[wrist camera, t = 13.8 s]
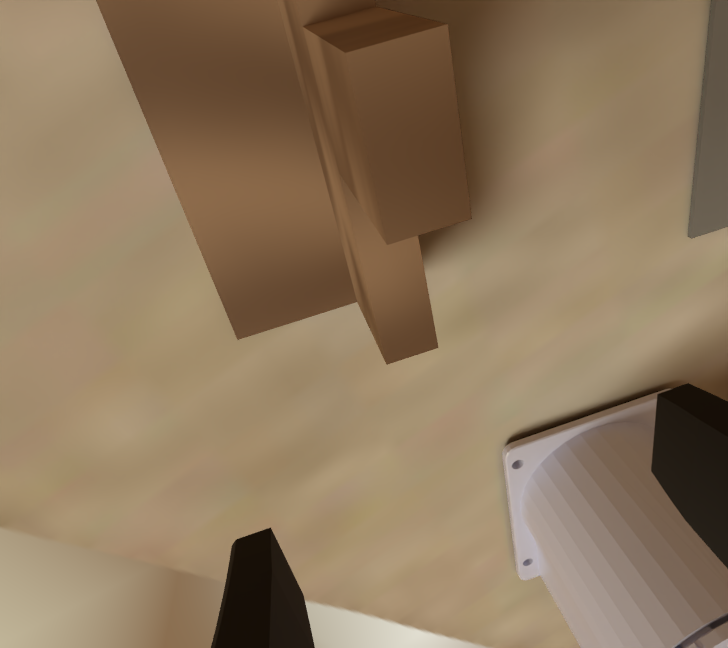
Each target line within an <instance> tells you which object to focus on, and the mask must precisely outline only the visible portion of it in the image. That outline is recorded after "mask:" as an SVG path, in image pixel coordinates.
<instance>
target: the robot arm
mask: <svg viewBox="0 0 728 648" xmlns="http://www.w3.org/2000/svg"><path fill="white" fill-rule="evenodd" d="M502 456H503V465H504V473H505V481H506V489H507V497H508V506H509V514H510V522H511V530H512V538H513V547H514V555H515V563H516V571H517V573H518V575H519V577H520V579H522V580H529V579H532V578H535V577H537V576H541V577H542V579H543V581H544V583H545V585H546V586H547V588H548V590H549V592H550V594H551V595H552V597H553V599H554V601H555V603H556V604H557V606H558V608H559V610H560V611H561V613H562V615H563V617H564V619H565V620H566V622H567V624H568V626H569V628H570V629H571V631H572V633H573V635H574V637H575V638H576V640H577V642H578V644H579V646H580V647H581V648H728V402H727V401H725V400H723V399H721V398H719V397H717V396H715V395H713V394H711V393H708V392H706V391H704V390H702V389H700V388H697V387H695V386H693V385H691V384H689V383H688V384H685V385H682V386H679V387H676V388H673V389H671V388H669V389H665V390H662V391H659V392H656V393H653V394H650V395H647V396H644V397H641V398H639V399H636V400H633V401H630V402H627V403H624V404H621V405H618V406H615V407H613V408H610V409H607V410H604V411H601V412H598V413H595V414H592V415H589V416H586V417H584V418H581V419H578V420H575V421H572V422H569V423H566V424H563V425H560V426H557V427H555V428H552V429H549V430H546V431H543V432H540V433H537V434H534V435H531V436H529V437H526V438H523V439H520V440H517V441H514V442H511V443H509V444H508V445H507V446H506V447H505V448H504V450H503V452H502ZM211 648H315V647H314V642H313V637H312V633H311V628H310V623H309V619H308V614H307V610H306V605H305V600H304V596H303V593H302V591H301V589H300V587H299V585H298V583H297V581H296V579H295V577H294V575H293V573H292V571H291V569H290V566H289V564H288V562H287V560H286V558H285V556H284V554H283V552H282V550H281V548H280V546H279V544H278V542H277V540H276V538H275V536H274V534H273V531H272V529H271V528H268V529H265V530H263V531H260V532H257V533H254V534H251V535H248V536H245V537H242V538H239V539H237V540H236V541H235V542H234V544H233V545H232V548H231V555H230V562H229V567H228V573H227V579H226V584H225V589H224V594H223V599H222V603H221V608H220V612H219V617H218V621H217V626H216V630H215V634H214V638H213V642H212V646H211Z"/></svg>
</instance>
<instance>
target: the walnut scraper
mask: <svg viewBox="0 0 728 648" xmlns="http://www.w3.org/2000/svg"><path fill="white" fill-rule="evenodd" d="M96 1H97V4H98V6H99V8H100V11H101V13H102V16H103V18H104V20H105V23H106V25H107V28H108V30H109V32H110V35H111V37H112V40H113V42H114V44H115V47H116V49H117V52H118V54H119V56H120V59H121V61H122V64H123V66H124V68H125V71H126V73H127V76H128V78H129V80H130V83H131V85H132V88H133V90H134V92H135V95H136V97H137V100H138V102H139V104H140V107H141V109H142V112H143V114H144V116H145V119H146V121H147V124H148V126H149V128H150V131H151V133H152V136H153V138H154V140H155V143H156V145H157V148H158V150H159V152H160V155H161V157H162V160H163V162H164V164H165V167H166V169H167V172H168V174H169V176H170V179H171V181H172V184H173V186H174V188H175V191H176V193H177V196H178V198H179V200H180V203H181V205H182V208H183V210H184V212H185V215H186V217H187V220H188V222H189V224H190V227H191V229H192V232H193V234H194V236H195V239H196V241H197V244H198V246H199V248H200V251H201V253H202V256H203V258H204V260H205V263H206V265H207V268H208V270H209V272H210V275H211V277H212V280H213V282H214V284H215V287H216V289H217V292H218V294H219V296H220V299H221V301H222V304H223V306H224V308H225V311H226V313H227V316H228V318H229V320H230V323H231V325H232V328H233V330H234V332H235V335H236V337H237V339H238V340H239V339H242V338H245V337H248V336H251V335H254V334H258V333H261V332H264V331H267V330H270V329H273V328H276V327H280V326H283V325H286V324H289V323H292V322H295V321H298V320H302V319H305V318H308V317H311V316H314V315H317V314H320V313H324V312H327V311H330V310H333V309H336V308H339V307H343V306H346V305H349V304H352V303H355V302H358V305H359V307H360V309H361V311H362V313H363V315H364V317H365V319H366V322H367V324H368V326H369V328H370V330H371V332H372V334H373V336H374V339H375V341H376V343H377V345H378V347H379V349H380V351H381V354H382V356H383V358H384V360H385V362H386V364H390V363H393V362H396V361H399V360H402V359H405V358H408V357H411V356H414V355H418V354H421V353H424V352H427V351H430V350H433V349H436V348H438V343H437V337H436V332H435V326H434V321H433V315H432V310H431V305H430V299H429V294H428V288H427V283H426V277H425V272H424V266H423V261H422V255H421V250H420V244H419V239H418V235H421V234H425V233H428V232H431V231H434V230H438V229H441V228H444V227H447V226H450V225H454V224H457V223H460V222H463V221H466V220H470V219H472V216H471V208H470V200H469V192H468V184H467V176H466V168H465V159H464V151H463V143H462V135H461V127H460V119H459V111H458V103H457V95H456V87H455V79H454V71H453V63H452V54H451V46H450V38H449V30H448V24H445V23H441V22H437V21H433V20H429V19H425V18H421V17H417V16H412V15H408V14H404V13H400V12H396V11H392V10H388V9H384V8H380V7H376V3H375V0H96Z"/></svg>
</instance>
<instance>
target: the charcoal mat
mask: <svg viewBox="0 0 728 648" xmlns="http://www.w3.org/2000/svg"><path fill="white" fill-rule="evenodd" d="M725 227H728V0H711V9H710V19H709V29H708V39H707V49H706V59H705V69H704V79H703V89H702V99H701V108H700V118H699V128H698V138H697V148H696V158H695V168H694V178H693V188H692V198H691V208H690V218H689V228H688V237H690V238H691V239H692V238H695V237H698V236H701V235H704V234H707V233H710V232H713V231H716V230H719V229H722V228H725Z"/></svg>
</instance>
